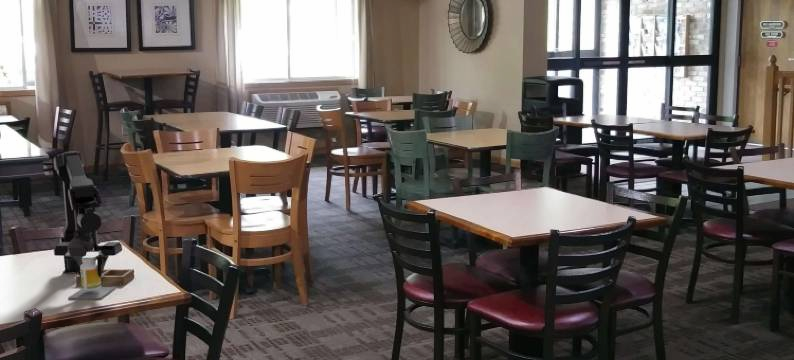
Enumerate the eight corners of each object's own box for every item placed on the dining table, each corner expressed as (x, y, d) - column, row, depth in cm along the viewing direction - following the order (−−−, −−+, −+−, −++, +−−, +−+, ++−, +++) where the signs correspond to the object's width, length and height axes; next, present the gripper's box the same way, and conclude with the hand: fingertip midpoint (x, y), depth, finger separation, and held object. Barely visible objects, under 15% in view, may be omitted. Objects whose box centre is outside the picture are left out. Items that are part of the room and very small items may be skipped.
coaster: (68, 299, 253) (68, 297, 253) (83, 289, 263) (83, 287, 263) (101, 299, 252) (101, 297, 252) (115, 289, 262) (115, 287, 262)
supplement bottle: (105, 286, 259) (102, 254, 257) (93, 291, 254) (90, 259, 252) (90, 284, 261) (87, 253, 259) (78, 290, 256) (75, 258, 254)
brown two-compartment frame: (76, 285, 267) (75, 276, 267) (87, 277, 275) (87, 269, 275) (124, 285, 266) (123, 276, 265) (134, 277, 274) (133, 269, 273)
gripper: (42, 232, 247) (47, 284, 250) (104, 232, 245) (109, 285, 248) (60, 223, 258) (65, 273, 261) (120, 223, 256) (125, 273, 259)
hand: (90, 276), depth 257 cm, fingers closed on supplement bottle, 5 cm apart
